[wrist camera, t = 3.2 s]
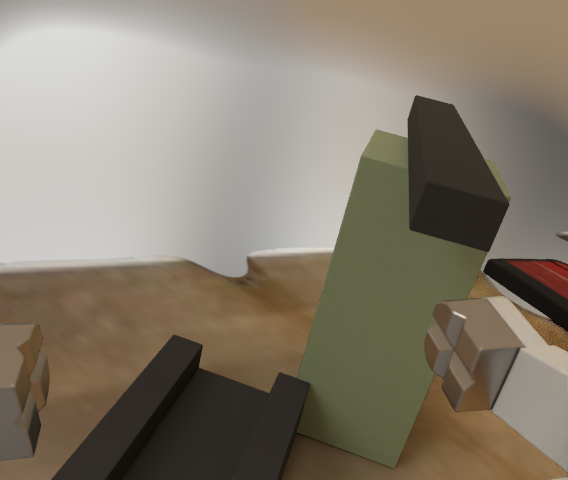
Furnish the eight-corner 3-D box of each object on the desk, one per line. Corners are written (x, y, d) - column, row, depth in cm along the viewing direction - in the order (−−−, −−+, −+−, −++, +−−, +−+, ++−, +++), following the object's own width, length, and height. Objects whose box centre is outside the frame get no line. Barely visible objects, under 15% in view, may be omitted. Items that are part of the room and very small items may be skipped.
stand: (282, 427, 36) (361, 154, 28) (307, 362, 44) (375, 129, 35) (394, 469, 35) (511, 197, 27) (401, 394, 42) (494, 161, 34)
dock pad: (32, 561, 25) (33, 497, 23) (165, 384, 38) (173, 333, 36) (224, 646, 24) (241, 586, 22) (296, 432, 36) (311, 382, 34)
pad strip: (408, 230, 19) (426, 180, 19) (407, 120, 41) (415, 95, 40) (488, 253, 19) (510, 203, 18) (444, 130, 41) (453, 104, 40)
